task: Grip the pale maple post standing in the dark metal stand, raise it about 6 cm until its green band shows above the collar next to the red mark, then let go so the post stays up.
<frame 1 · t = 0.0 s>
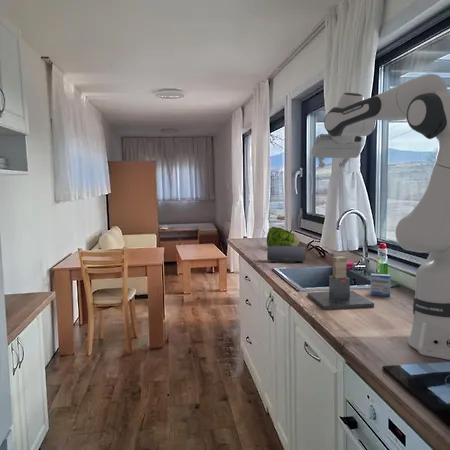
hand: (331, 166, 173), 54 cm above the countertop, tool tilted 30°, fingers open, 8 cm apart
medicine box: (380, 294, 183), on the countertop
post: (339, 277, 172), point 10 cm above the countertop, slide at 0.0 cm
stand: (339, 301, 173), on the countertop
lettuce: (282, 250, 308), on the countertop
bluetooth speaker: (286, 262, 260), on the countertop
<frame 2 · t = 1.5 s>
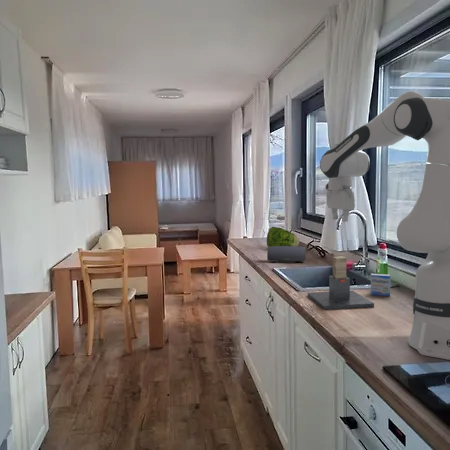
hand: (340, 220, 170), 33 cm above the countertop, tool pointing down, fingers open, 8 cm apart
nothing on the countertop moved.
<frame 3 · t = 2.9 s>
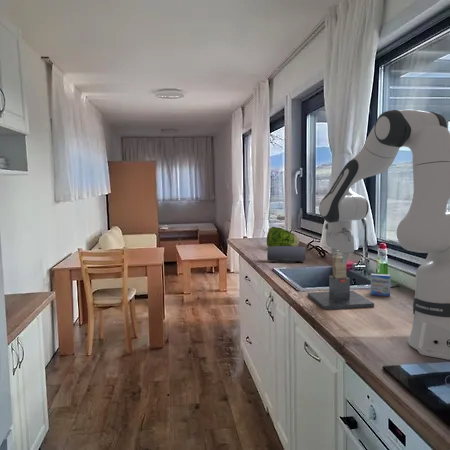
hand: (339, 260, 172), 17 cm above the countertop, tool pointing down, fingers open, 8 cm apart
nothing on the countertop moved.
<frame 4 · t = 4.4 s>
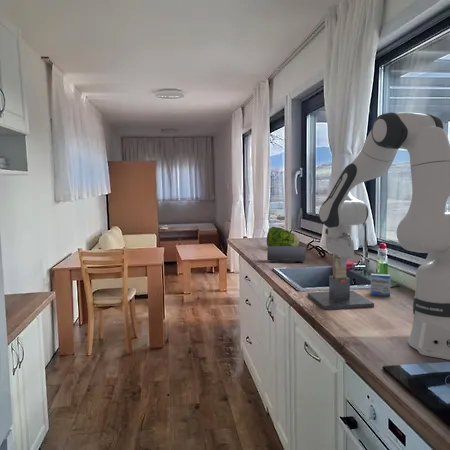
hand: (339, 265, 172), 15 cm above the countertop, tool pointing down, fingers closed on post, 4 cm apart
post: (339, 277, 172), point 10 cm above the countertop, slide at 0.0 cm, touching gripper
everything else where it was.
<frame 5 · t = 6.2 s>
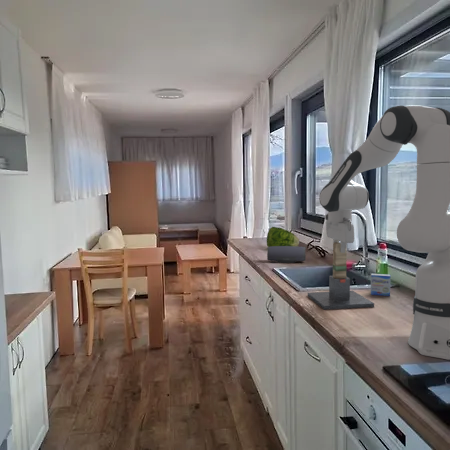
hand: (339, 251, 171), 20 cm above the countertop, tool pointing down, fingers closed on post, 4 cm apart
post: (339, 262, 172), point 16 cm above the countertop, slide at 5.8 cm, touching gripper
everything else where it was.
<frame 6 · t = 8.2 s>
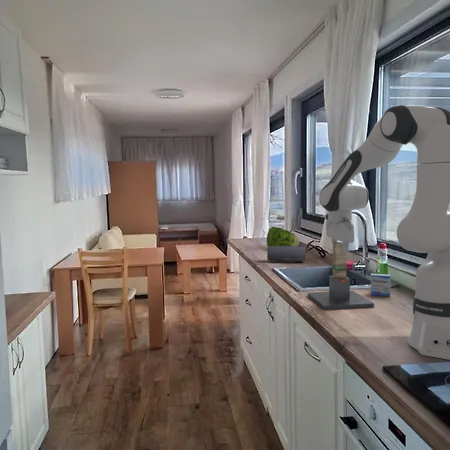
hand: (339, 251, 171), 21 cm above the countertop, tool pointing down, fingers open, 8 cm apart
post: (339, 262, 172), point 16 cm above the countertop, slide at 6.0 cm
everything else where it was.
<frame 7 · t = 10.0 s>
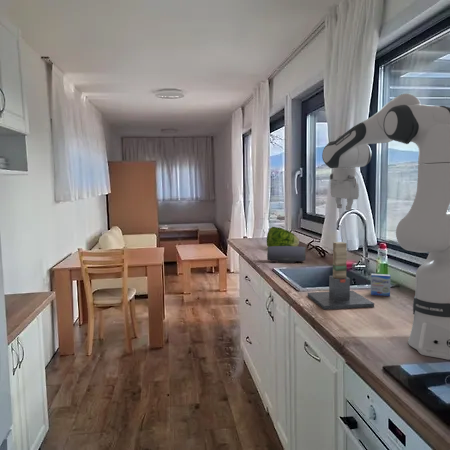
hand: (343, 209, 177), 37 cm above the countertop, tool pointing down, fingers open, 8 cm apart
nothing on the countertop moved.
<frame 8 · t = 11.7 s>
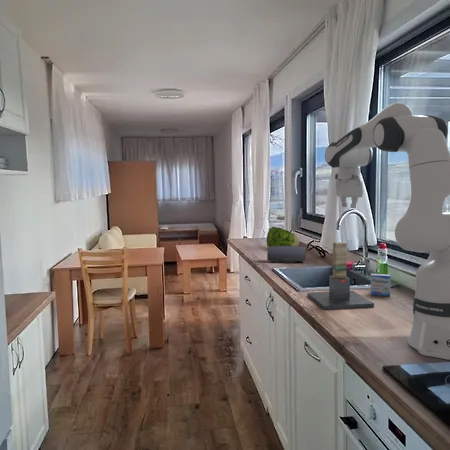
hand: (348, 207, 183), 37 cm above the countertop, tool pointing down, fingers open, 8 cm apart
nothing on the countertop moved.
at the end: post slide at 6.0 cm; the gripper is holding nothing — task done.
